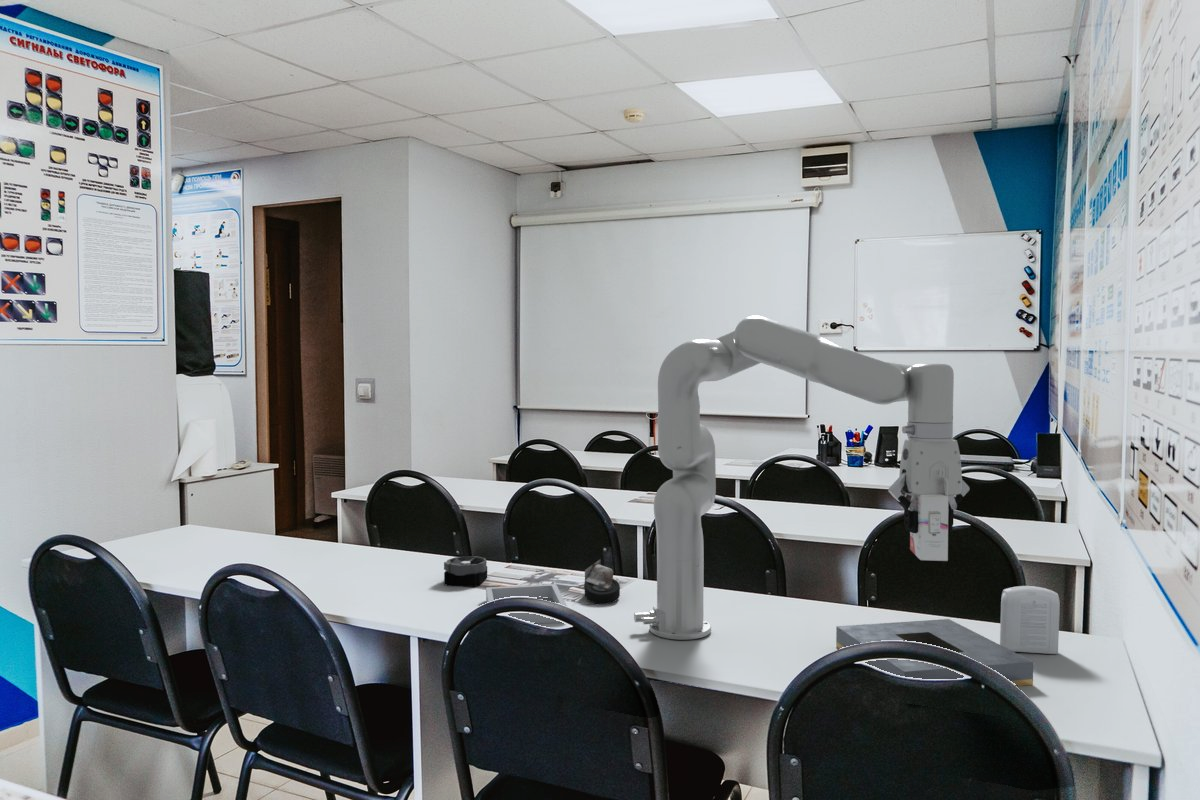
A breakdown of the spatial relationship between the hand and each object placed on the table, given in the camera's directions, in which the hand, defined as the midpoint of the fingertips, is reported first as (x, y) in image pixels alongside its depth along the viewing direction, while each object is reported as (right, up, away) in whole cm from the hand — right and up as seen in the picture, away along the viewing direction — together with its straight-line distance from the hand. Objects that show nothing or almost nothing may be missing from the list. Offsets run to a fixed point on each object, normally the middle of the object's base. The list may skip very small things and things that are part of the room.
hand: (928, 530), depth 149 cm
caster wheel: (-59, -23, +45) cm, 77 cm away
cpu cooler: (-94, -23, +59) cm, 113 cm away
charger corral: (-76, -23, +34) cm, 87 cm away
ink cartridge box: (0, -5, 0) cm, 5 cm away
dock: (0, -25, +1) cm, 25 cm away
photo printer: (+22, -24, +8) cm, 34 cm away
